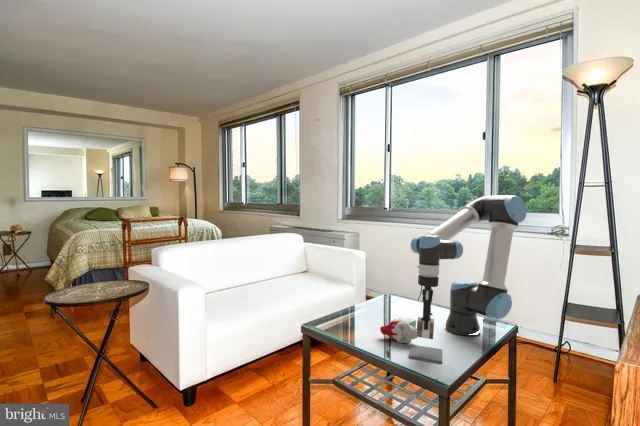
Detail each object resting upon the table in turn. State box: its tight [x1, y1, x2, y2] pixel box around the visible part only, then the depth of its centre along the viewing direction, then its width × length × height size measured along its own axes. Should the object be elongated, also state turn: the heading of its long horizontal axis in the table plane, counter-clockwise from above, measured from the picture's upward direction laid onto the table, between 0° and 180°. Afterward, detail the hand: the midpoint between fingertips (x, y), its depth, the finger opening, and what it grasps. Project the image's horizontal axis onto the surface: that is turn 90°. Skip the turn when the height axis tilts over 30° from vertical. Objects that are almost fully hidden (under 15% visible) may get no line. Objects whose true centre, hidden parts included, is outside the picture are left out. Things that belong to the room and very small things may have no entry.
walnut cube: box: [416, 316, 435, 340], centre depth 134 cm, size 6×6×6 cm
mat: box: [408, 344, 443, 365], centre depth 134 cm, size 12×12×1 cm
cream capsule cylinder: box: [397, 316, 410, 323], centre depth 159 cm, size 5×5×6 cm
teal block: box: [408, 317, 417, 329], centre depth 164 cm, size 4×6×4 cm, turn 134°
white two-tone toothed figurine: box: [379, 318, 418, 344], centre depth 149 cm, size 9×11×15 cm
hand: (426, 334), depth 134 cm, fingers closed on walnut cube, 6 cm apart
